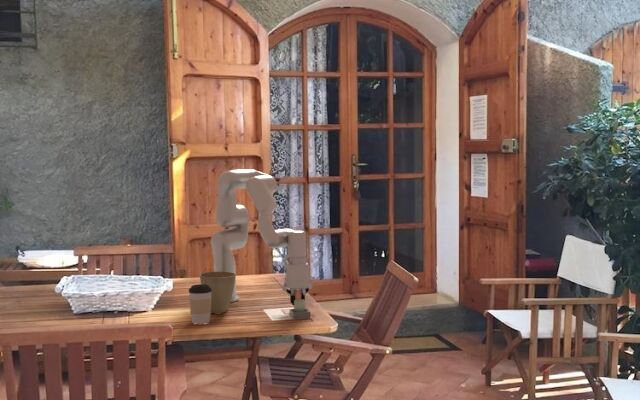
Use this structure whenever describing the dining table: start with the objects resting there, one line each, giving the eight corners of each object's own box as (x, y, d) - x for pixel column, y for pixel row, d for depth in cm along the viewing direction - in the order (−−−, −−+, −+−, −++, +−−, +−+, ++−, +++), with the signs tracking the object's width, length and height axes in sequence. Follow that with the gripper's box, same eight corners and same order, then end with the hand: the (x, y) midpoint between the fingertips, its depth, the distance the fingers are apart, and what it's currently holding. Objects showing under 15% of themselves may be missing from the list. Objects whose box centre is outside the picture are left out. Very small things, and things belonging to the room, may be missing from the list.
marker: (294, 310, 306) (294, 284, 306) (293, 308, 310) (292, 282, 309) (302, 309, 307) (302, 283, 306) (300, 308, 310) (300, 282, 310)
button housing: (293, 318, 295) (293, 312, 295) (289, 315, 301) (289, 309, 301) (310, 317, 297) (310, 311, 296) (306, 313, 303) (306, 307, 303)
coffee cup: (190, 320, 297) (189, 283, 296) (213, 319, 298) (212, 282, 297) (188, 325, 288) (187, 287, 287) (212, 324, 289) (211, 286, 288)
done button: (295, 314, 296) (295, 301, 296) (293, 311, 300) (293, 299, 300) (306, 313, 297) (306, 301, 297) (303, 311, 302) (303, 298, 301)
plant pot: (207, 317, 301) (206, 278, 300) (195, 310, 314) (194, 273, 313) (241, 313, 308) (241, 275, 307) (229, 306, 321) (228, 270, 320)
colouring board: (272, 322, 293) (272, 320, 293) (262, 311, 312) (262, 309, 312) (311, 319, 297) (311, 317, 297) (300, 308, 316) (300, 306, 316)
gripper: (279, 263, 301) (280, 307, 303) (318, 260, 305) (319, 305, 307) (275, 260, 308) (276, 303, 310) (314, 258, 313) (314, 301, 314)
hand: (297, 304), depth 308 cm, fingers closed on marker, 3 cm apart
